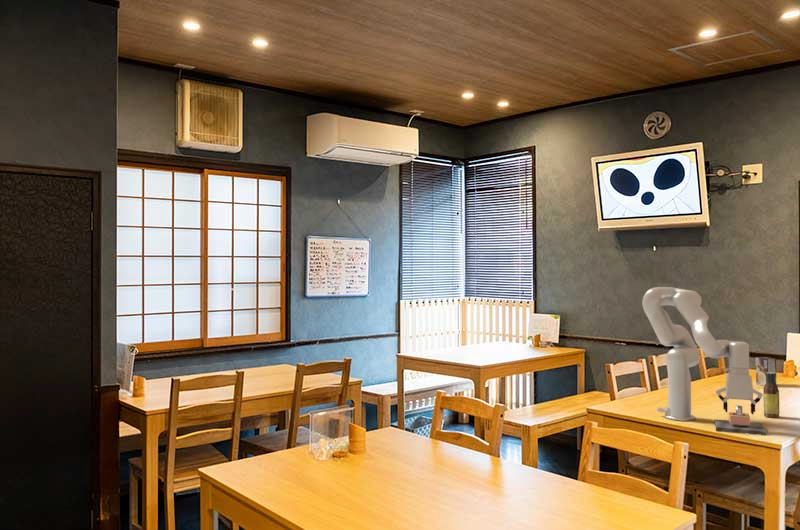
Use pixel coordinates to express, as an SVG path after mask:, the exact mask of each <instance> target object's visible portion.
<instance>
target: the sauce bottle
mask: <svg viewBox="0 0 800 530" xmlns="http://www.w3.org/2000/svg"><path fill="white" fill-rule="evenodd" d="M775 377H776V378H777V372H776V373H772V372H767V373H766V384H765V386H763V388H762V389H763V393H762V394H763V396H762V397H763V416H764V417H766V418H771V419H776V418H780V389H779V387H778V384H777V380H776V381H775Z"/></svg>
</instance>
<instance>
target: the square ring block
mask: <svg viewBox="0 0 800 530" xmlns="http://www.w3.org/2000/svg"><path fill="white" fill-rule="evenodd" d="M728 421H729V422H730V424H737V425H750V422H751V417H750V415H749V413H746V412H742V416H739V415H736V411H735V412H733V411H729V412H728Z"/></svg>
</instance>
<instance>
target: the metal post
mask: <svg viewBox="0 0 800 530" xmlns="http://www.w3.org/2000/svg"><path fill="white" fill-rule="evenodd" d="M735 413H736V415H739V416H742V413H743V405H735ZM731 425H733V426H737V427H747V425H737V424H731Z"/></svg>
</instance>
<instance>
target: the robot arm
mask: <svg viewBox="0 0 800 530" xmlns="http://www.w3.org/2000/svg"><path fill="white" fill-rule="evenodd" d="M641 303H642V309H643V312H644V314H645V316H646V317H647V318H648V320H649V322H650V325H651V327H652V329H653V331H654V333H655V335H656V337H657V339H658V341H659V342H660V344H661V345H663V346H664V347H673V348H671V349H669V350H668V352H667V353H666V354H665V355H666V356H665V364H666V365H665V366H666V369H667V407H666V406H665V407H661V406H660V407H658V406H657V412H659V413H664V418H665V417H666V419H669V420H673V421H681V422H690V421H694V420H696V417H695V415H693V414H692V376H691V372H690V368H692V367H695V366H697V365H698V364H699V363H700V361H701V354H700V352H699V350H698V347H699V348H700V349H701V351H702V352H703V353H704V355H706V356H707V357H708V358H710V359H720V358H721V359H723V358H728V367H725V368H724V371H725V372H727V373H726V379H725V387H722V388H720V389H717V390H716V391H715V393H716V395H717V397H718V399H719V400H721V401H722V402H723V405H722V406H723V410H725V413H728V400H729V399H730V400H731V399H732V400H742V401H743V400H744V401H745V400H746V401H750V402H751V403H750V413H751V415H754V413H755V412H756V404H758V403H759V402H760V400H761V399H762V397H763V393H762V392H760V391H758V390H756V389H754V384H753V378H752V375H751V374H750V348H749V347H750V344H748V343H747V342H745V341H733V340H728V339H715V337H714V336H713V334H712V333H711V332H710V330H709V329H708V321H709V319H710V318H709V315H708V314H707V312H706V311H705V310H704V309H703V307H702V306H701V305H702V296H701V295H700V293H698V292H697V291H695V290H691V289H684V288H677V287H671V286H657V287H656V286H655V287H652V288H650V289H648V290H647V291H646V292H645V293H644V295H643V297H642V301H641ZM663 306H673V307H675V308H676V309H677V311H678V312H679V313H680V314H681V316H682V317H683V318H684V320H686V323H687V324H688V325H689V326H690V328H691V333H690V332H689V331H688V329H687V328H686V327H684V326H683V325H680V324H674V323H673V322H672V320H671V318H670V316H669V313H667V311H666V310H665V309H664V307H663ZM691 334H692V336H691ZM692 337H693V338H692ZM694 341H695V342H694ZM696 344H697V345H696ZM697 346H698V347H697ZM723 392H725V393H724V394H725V396H723V395H722V394H721V393H723ZM754 394H755V395H756V396H757V397H756V398H755V399H754Z"/></svg>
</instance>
